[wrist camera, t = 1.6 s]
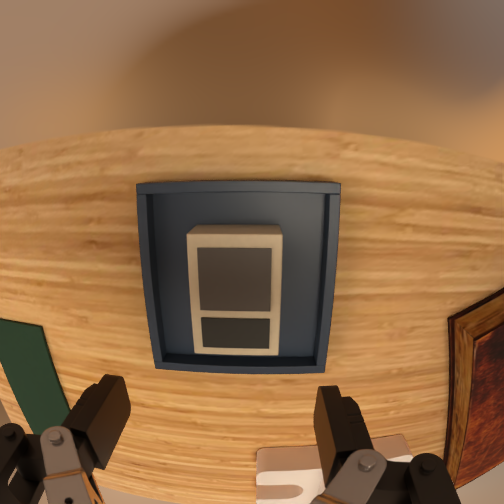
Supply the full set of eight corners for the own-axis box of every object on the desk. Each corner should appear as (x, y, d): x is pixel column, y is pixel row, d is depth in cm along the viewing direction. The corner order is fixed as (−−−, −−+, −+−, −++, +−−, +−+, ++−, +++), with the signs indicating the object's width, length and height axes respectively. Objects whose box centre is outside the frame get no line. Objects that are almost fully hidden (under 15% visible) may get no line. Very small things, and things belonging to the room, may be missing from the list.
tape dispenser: (386, 476, 33) (405, 534, 22) (256, 488, 33) (255, 555, 23) (406, 432, 30) (435, 498, 20) (256, 447, 31) (255, 526, 20)
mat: (-13, 315, 28) (-15, 316, 27) (42, 326, 27) (40, 327, 27) (35, 433, 33) (34, 435, 32) (89, 451, 33) (88, 453, 32)
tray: (145, 182, 24) (135, 183, 22) (334, 181, 23) (341, 183, 21) (161, 356, 28) (155, 368, 26) (320, 359, 27) (324, 372, 25)
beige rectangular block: (196, 224, 24) (185, 234, 20) (279, 224, 24) (283, 234, 20) (202, 330, 26) (194, 354, 23) (276, 332, 26) (278, 356, 22)
